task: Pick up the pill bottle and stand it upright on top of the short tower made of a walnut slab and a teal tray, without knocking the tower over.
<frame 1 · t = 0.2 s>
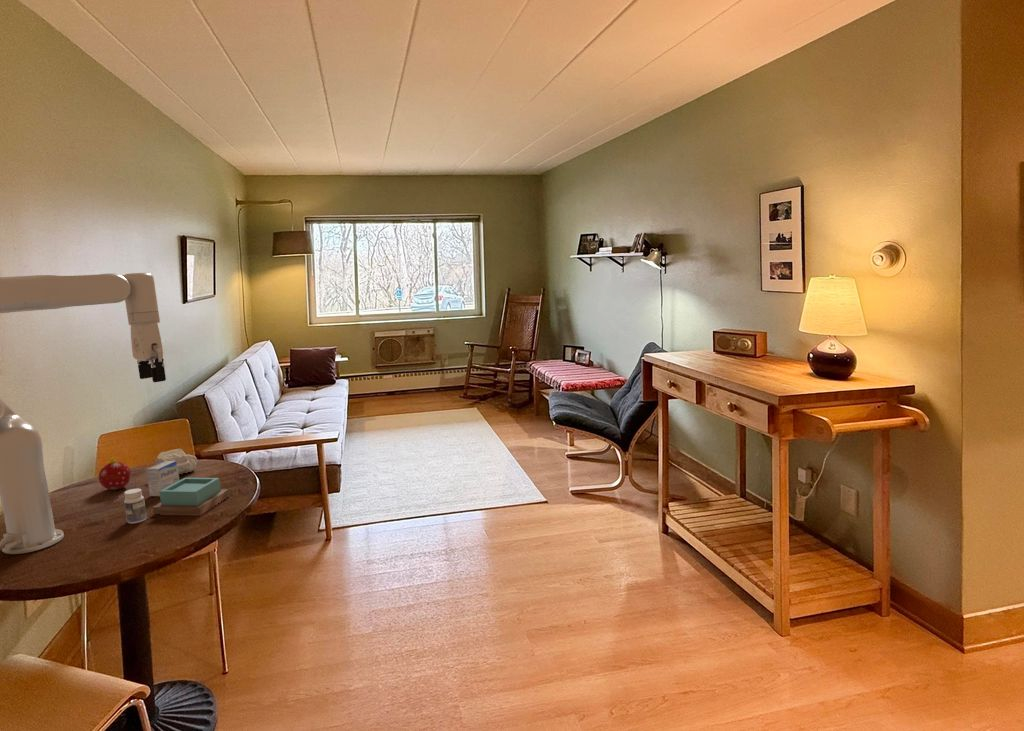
hand: (152, 379, 179), 36 cm above the table, tool pointing down, fingers open, 9 cm apart
christmas ornament: (117, 489, 200), on the table
medicine box: (165, 492, 196), on the table
pill bottle: (137, 521, 174), on the table
teal tray: (191, 497, 183), point 2 cm above the table, touching walnut slab
walnut slab: (193, 507, 184), on the table, touching teal tray
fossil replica: (178, 474, 212), on the table
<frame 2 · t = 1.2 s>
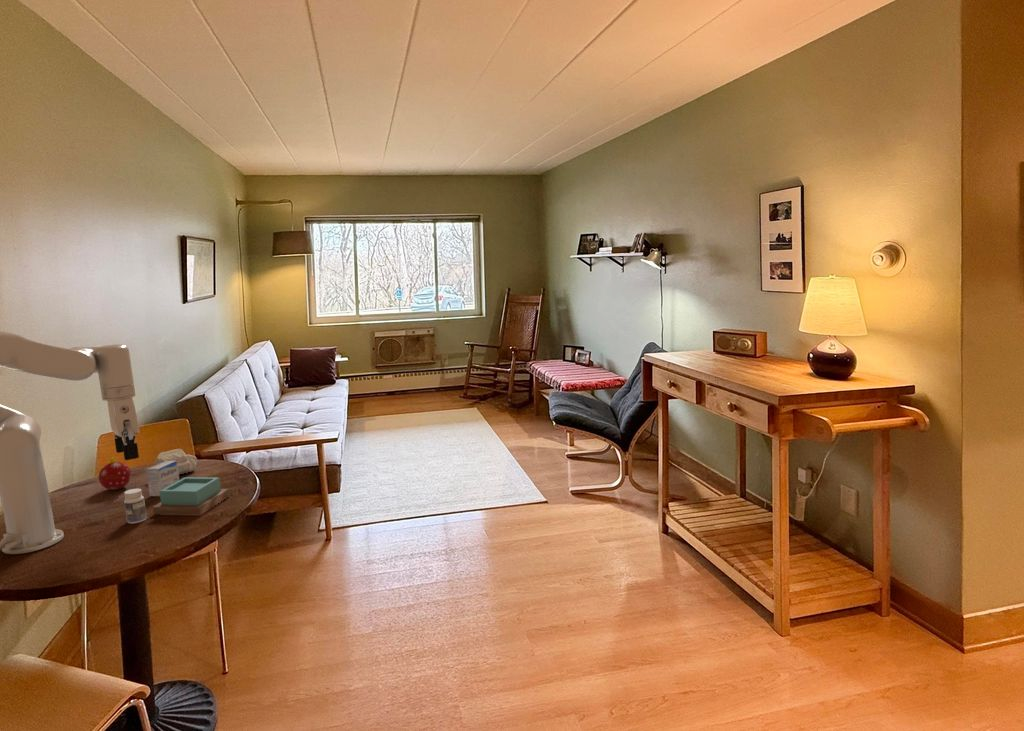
hand: (127, 455, 171), 18 cm above the table, tool pointing down, fingers open, 9 cm apart
nothing on the table moved.
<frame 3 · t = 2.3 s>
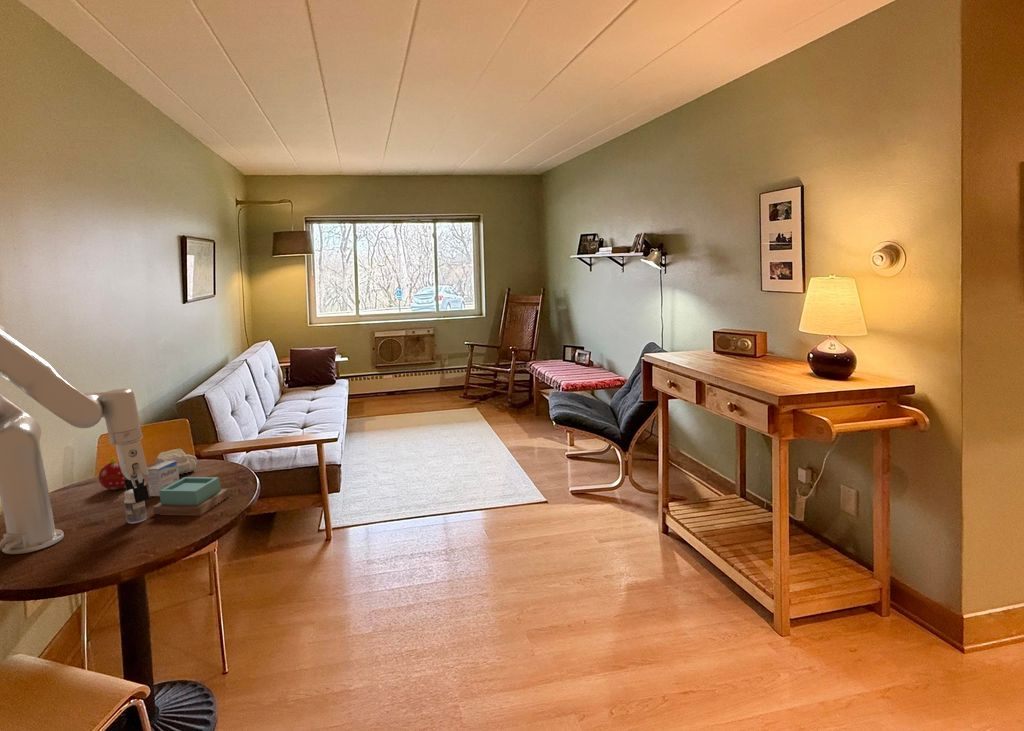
hand: (138, 496, 174), 7 cm above the table, tool pointing down, fingers open, 9 cm apart
teal tray: (191, 497, 183), point 2 cm above the table
walnut slab: (193, 507, 184), on the table
everything else where it was.
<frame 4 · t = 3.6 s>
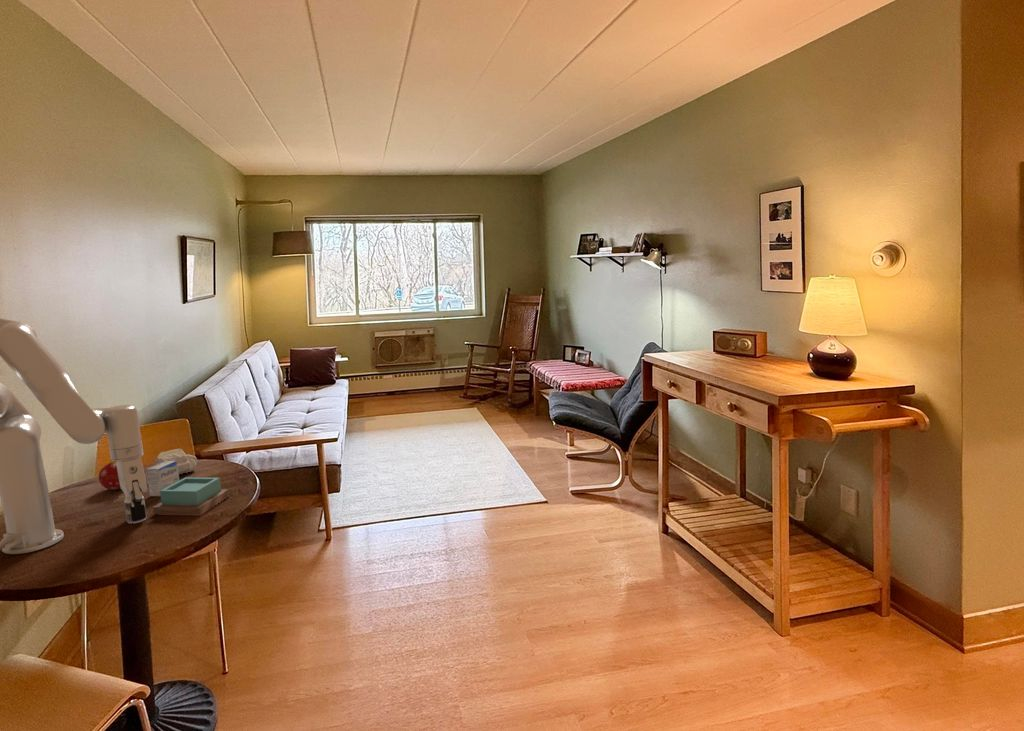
hand: (136, 516, 174), 1 cm above the table, tool pointing down, fingers closed on pill bottle, 4 cm apart
pill bottle: (137, 521, 174), on the table, touching gripper
teal tray: (192, 497, 183), point 2 cm above the table, touching walnut slab
walnut slab: (193, 507, 184), on the table, touching teal tray
everything else where it was.
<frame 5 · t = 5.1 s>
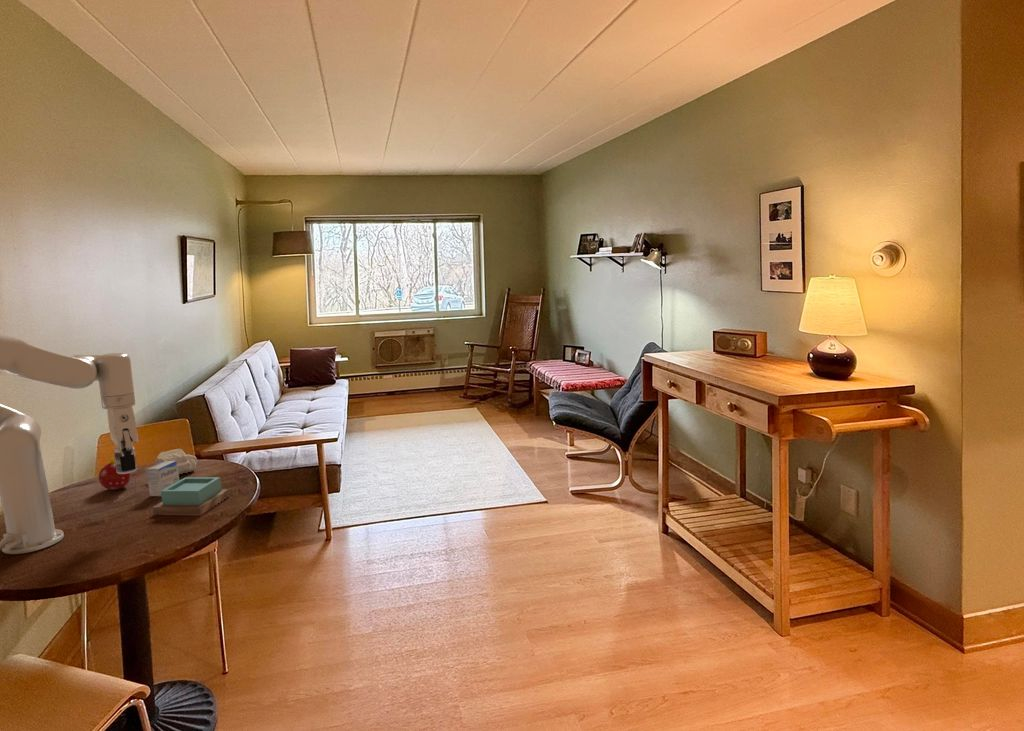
hand: (126, 467, 171), 15 cm above the table, tool pointing down, fingers closed on pill bottle, 4 cm apart
pill bottle: (127, 472, 172), point 14 cm above the table, touching gripper
everything else where it was.
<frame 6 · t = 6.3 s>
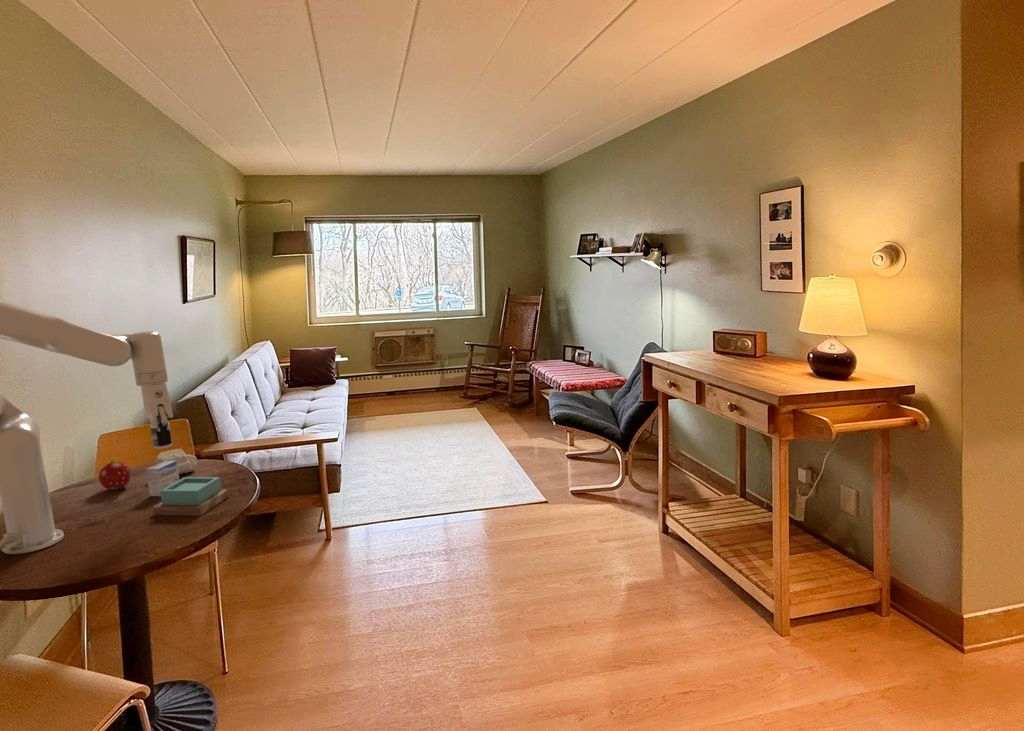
hand: (162, 442, 177), 20 cm above the table, tool pointing down, fingers closed on pill bottle, 4 cm apart
pill bottle: (163, 447, 177), point 19 cm above the table, touching gripper
everything else where it was.
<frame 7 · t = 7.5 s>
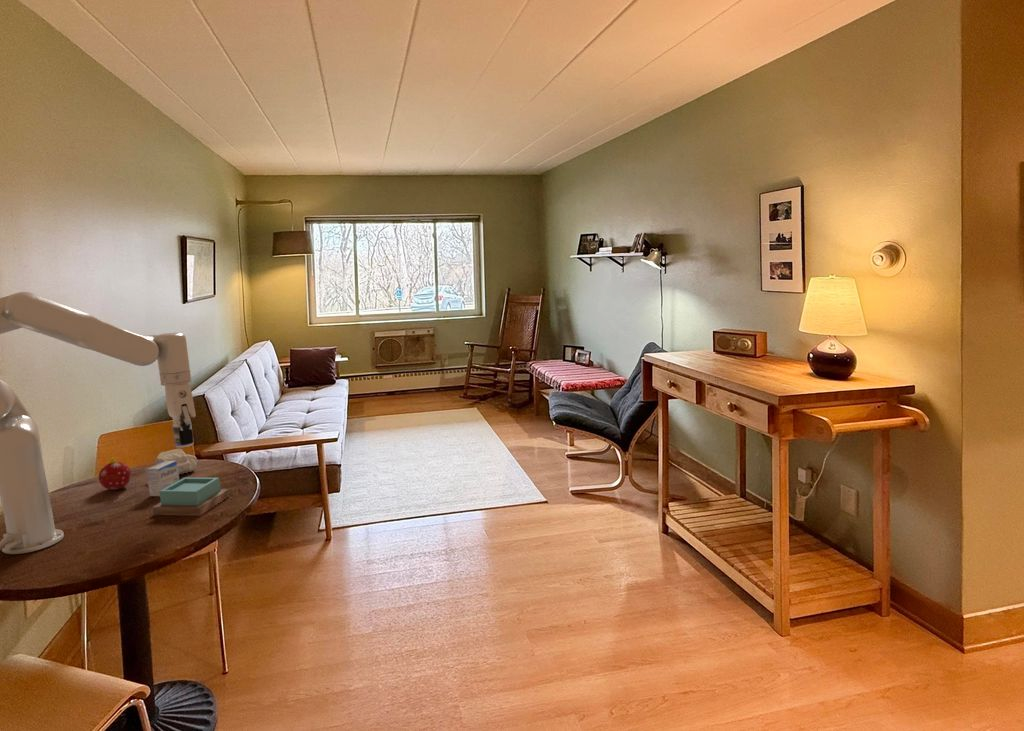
hand: (184, 441, 180), 19 cm above the table, tool pointing down, fingers closed on pill bottle, 4 cm apart
pill bottle: (184, 446, 181), point 17 cm above the table, touching gripper
teal tray: (191, 497, 183), point 2 cm above the table
walnut slab: (193, 507, 184), on the table
everything else where it was.
when the fingers open (8 cm above the table, at t = 11.3 s): pill bottle drops 1 cm, resting on teal tray.
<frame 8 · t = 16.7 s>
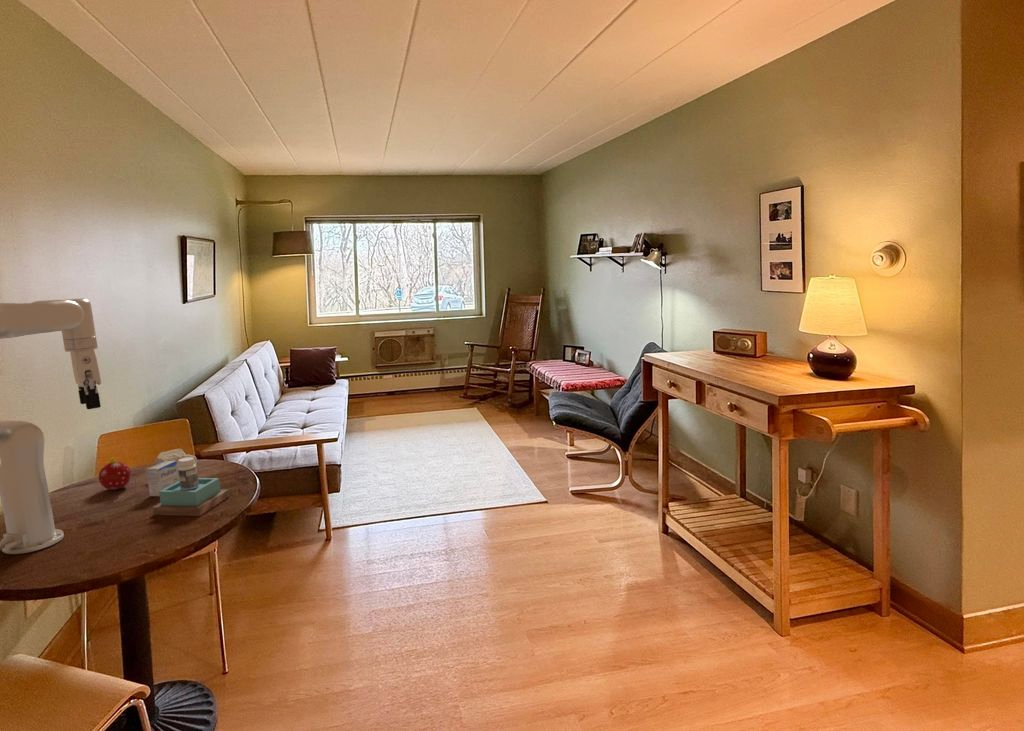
hand: (90, 405, 178), 30 cm above the table, tool pointing down, fingers open, 9 cm apart
pill bottle: (190, 488, 183), point 5 cm above the table, touching teal tray
teal tray: (191, 498, 183), point 2 cm above the table, touching pill bottle, walnut slab
walnut slab: (193, 508, 184), on the table, touching teal tray
everything else where it was.
at the end: pill bottle inside the target area on the walnut slab (0.2 cm from its centre), point 5.8 cm above the walnut slab's base; teal tray 0.0 cm off-centre on the walnut slab, point 3.0 cm above the walnut slab's base; pill bottle tilted 1° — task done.
